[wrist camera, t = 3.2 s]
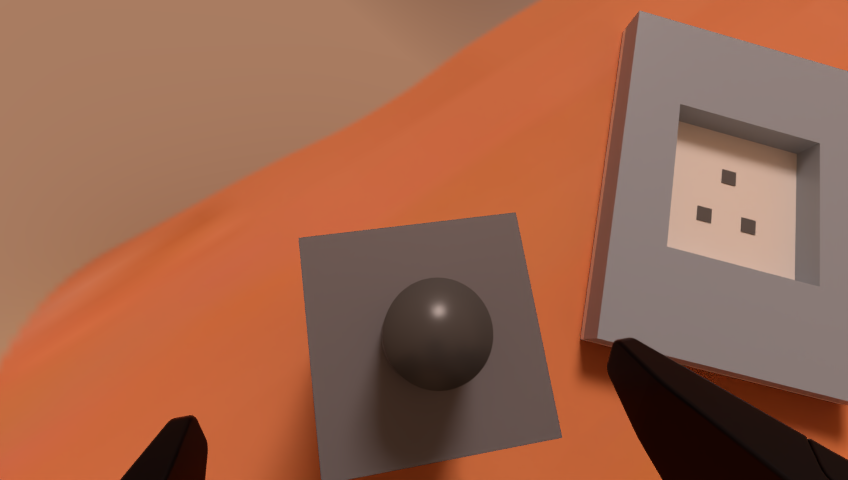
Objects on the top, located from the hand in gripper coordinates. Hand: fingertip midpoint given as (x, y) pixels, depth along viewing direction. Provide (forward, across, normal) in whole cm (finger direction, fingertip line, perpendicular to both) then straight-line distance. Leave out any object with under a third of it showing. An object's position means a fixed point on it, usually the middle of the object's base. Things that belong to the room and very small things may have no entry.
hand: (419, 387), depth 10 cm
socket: (+10, -16, +3) cm, 19 cm away
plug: (+7, 0, +6) cm, 9 cm away
